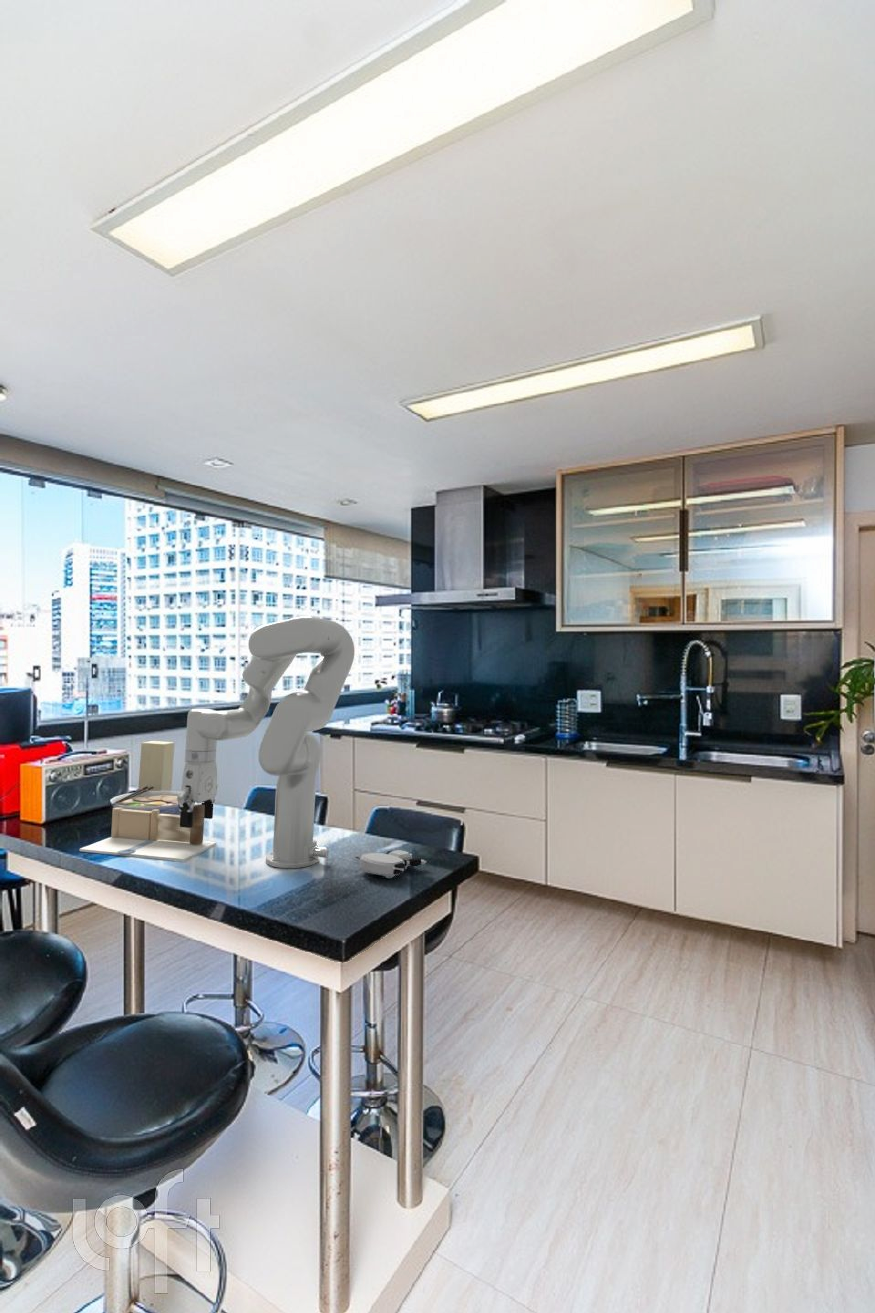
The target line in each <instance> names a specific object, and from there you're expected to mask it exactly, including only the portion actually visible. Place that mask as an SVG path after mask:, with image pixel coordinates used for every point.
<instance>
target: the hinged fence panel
mask: <svg viewBox="0 0 875 1313" xmlns="http://www.w3.org/2000/svg"><path fill="white" fill-rule="evenodd" d="M191 812H193V826H192V827H191V828H185V827H180V815H171V814H159V815H157V818H158V835H157V840H167V841H178V842H188V843H190V844H201V843H203V841H204V831H205V830H204V828H205V827H204V826H205V818H204V812H205V805H202V804H201V803H197V804H194V807H193V809H192V811H191Z"/></svg>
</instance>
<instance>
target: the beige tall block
mask: <svg viewBox="0 0 875 1313" xmlns="http://www.w3.org/2000/svg"><path fill="white" fill-rule="evenodd" d="M174 755H175V742H173V741H164V740H163V741H162V740H161V741H158V740H150V741H145V742H144V741H143V742H141V746H140V762H139V776H138V790H140V789H142V788H144V787H146V786H148V788H150V787H154V789H151V790H149V791H172V789H173V788H172V786H173V770H174ZM138 790H137V791H138ZM145 790H146V789H145Z"/></svg>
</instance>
